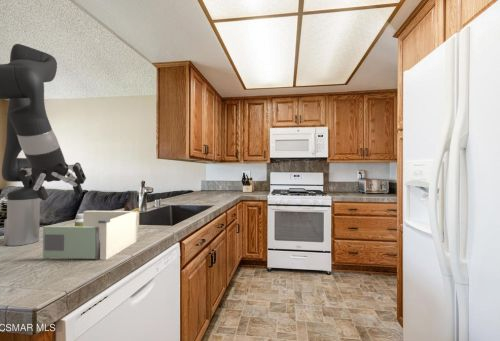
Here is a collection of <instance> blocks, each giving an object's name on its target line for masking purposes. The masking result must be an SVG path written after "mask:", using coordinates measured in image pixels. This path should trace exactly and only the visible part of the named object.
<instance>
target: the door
mask: <svg viewBox="0 0 500 341" xmlns="http://www.w3.org/2000/svg"><path fill="white" fill-rule="evenodd" d="M99 242H100V241H99V227H77V226H75V225H73V226H65V225H64V226H63V225H59V226H58V225H45V226H42V258H43V259H47V258H48V259H93V260H95V259H99V257H100V243H99Z"/></svg>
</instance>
